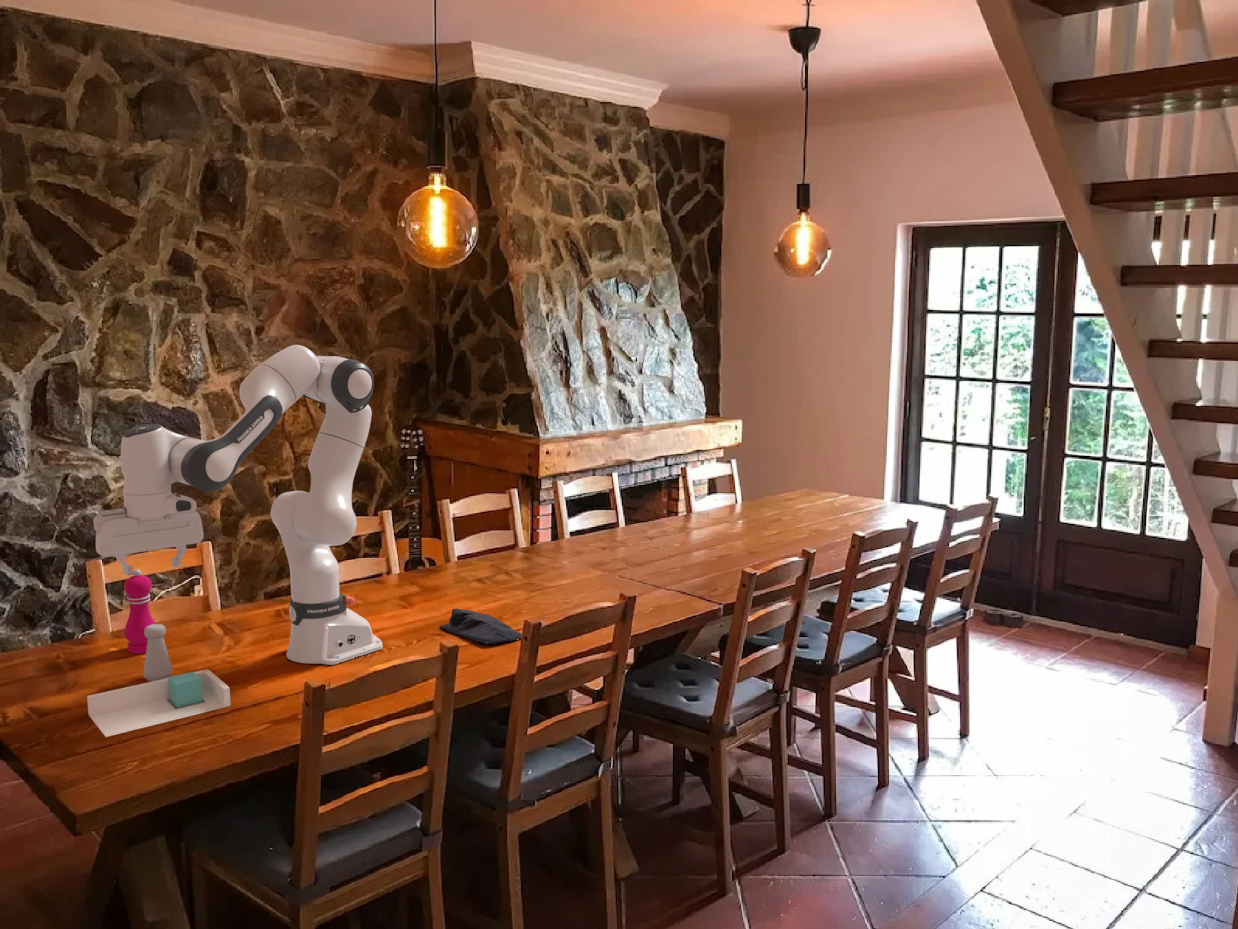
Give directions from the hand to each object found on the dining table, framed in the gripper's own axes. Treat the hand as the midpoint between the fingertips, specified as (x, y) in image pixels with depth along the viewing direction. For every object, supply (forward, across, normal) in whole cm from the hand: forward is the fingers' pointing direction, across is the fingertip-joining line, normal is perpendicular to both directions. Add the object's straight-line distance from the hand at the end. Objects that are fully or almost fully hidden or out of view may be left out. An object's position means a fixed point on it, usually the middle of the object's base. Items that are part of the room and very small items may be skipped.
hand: (153, 570), depth 210 cm
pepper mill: (+30, +6, +36) cm, 47 cm away
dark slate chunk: (+31, +78, -4) cm, 84 cm away
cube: (+28, +4, -4) cm, 29 cm away
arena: (+29, -2, -5) cm, 30 cm away
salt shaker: (+30, +3, +13) cm, 32 cm away
